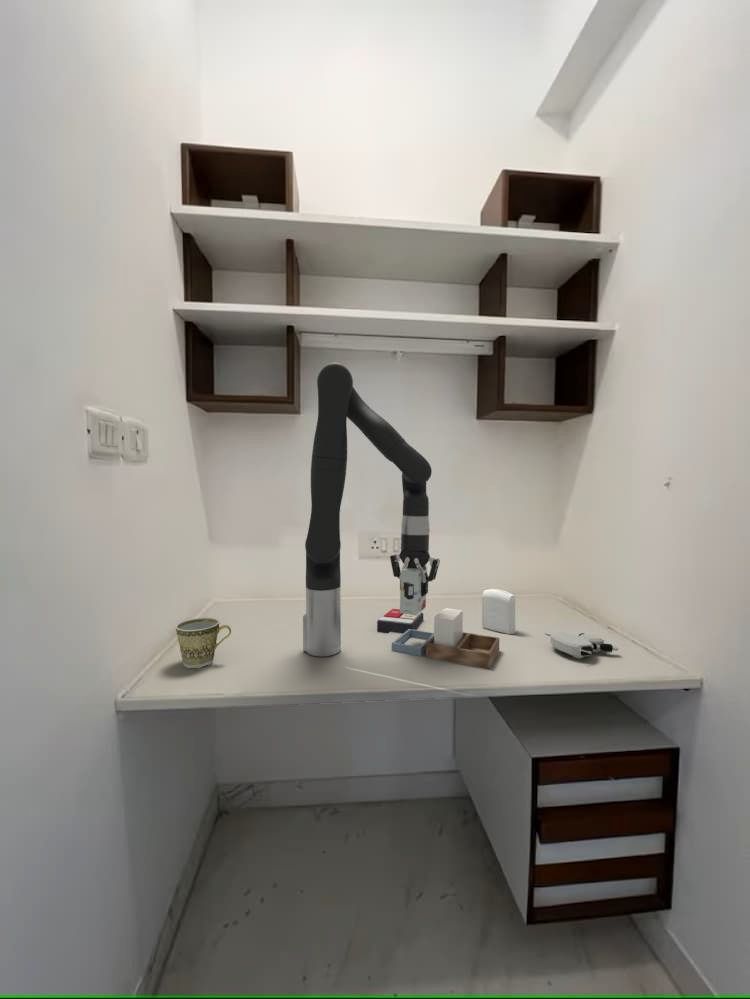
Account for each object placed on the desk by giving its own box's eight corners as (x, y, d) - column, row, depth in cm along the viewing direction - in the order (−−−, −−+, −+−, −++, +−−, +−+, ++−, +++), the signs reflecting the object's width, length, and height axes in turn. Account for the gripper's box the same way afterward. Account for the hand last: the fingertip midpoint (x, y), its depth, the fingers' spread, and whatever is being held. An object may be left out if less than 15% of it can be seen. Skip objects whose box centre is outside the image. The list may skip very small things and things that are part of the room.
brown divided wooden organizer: (426, 658, 108) (426, 643, 108) (440, 642, 119) (440, 628, 119) (489, 671, 101) (489, 654, 101) (499, 652, 112) (499, 637, 112)
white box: (434, 655, 109) (434, 617, 108) (444, 643, 117) (444, 607, 116) (453, 659, 106) (453, 619, 106) (462, 646, 114) (462, 610, 114)
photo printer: (479, 627, 131) (479, 588, 131) (487, 624, 134) (487, 585, 134) (510, 636, 124) (510, 594, 124) (517, 632, 127) (517, 591, 127)
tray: (391, 652, 112) (391, 642, 112) (408, 637, 123) (408, 628, 123) (420, 657, 109) (420, 648, 108) (436, 642, 119) (436, 633, 119)
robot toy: (583, 644, 120) (540, 647, 115) (584, 628, 120) (542, 630, 115) (621, 660, 109) (576, 665, 104) (622, 643, 109) (577, 646, 104)
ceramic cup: (169, 672, 100) (168, 631, 100) (185, 655, 110) (184, 617, 110) (225, 671, 101) (225, 629, 101) (236, 654, 111) (236, 616, 111)
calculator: (423, 610, 138) (412, 622, 124) (423, 623, 138) (411, 636, 124) (391, 607, 142) (376, 618, 128) (391, 620, 142) (376, 632, 128)
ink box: (410, 605, 120) (411, 563, 120) (426, 607, 118) (427, 565, 118) (398, 613, 112) (400, 569, 112) (416, 615, 110) (417, 570, 110)
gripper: (385, 531, 115) (384, 594, 115) (436, 535, 108) (434, 601, 109) (396, 529, 121) (395, 588, 122) (444, 532, 115) (443, 594, 115)
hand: (413, 594), depth 115 cm, fingers closed on ink box, 5 cm apart
